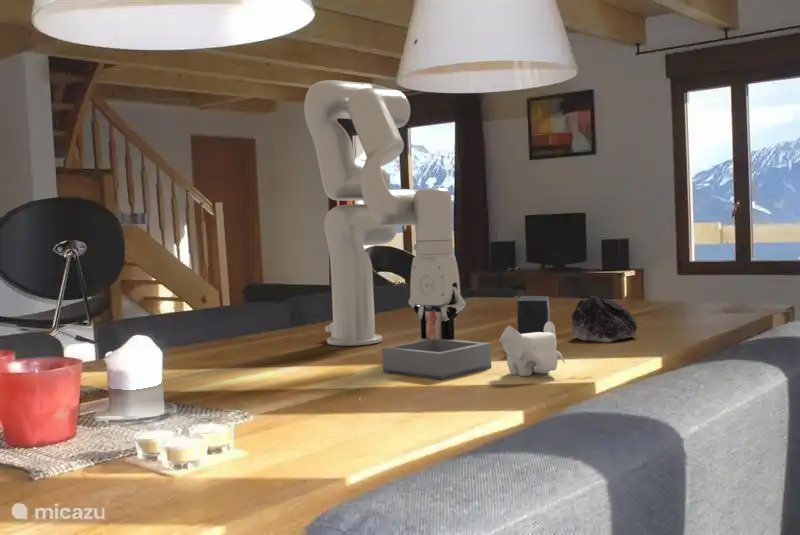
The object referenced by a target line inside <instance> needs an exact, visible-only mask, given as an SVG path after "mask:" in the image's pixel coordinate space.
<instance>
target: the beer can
mask: <svg viewBox="0 0 800 535" xmlns="http://www.w3.org/2000/svg"><path fill="white" fill-rule="evenodd" d="M447 310H448V308H447ZM448 311H449V310H448ZM425 321H426V339H425V340H427V339H432V338H435V339H442V335H441V321H444V319H443V316H442V311H441V307H439V306H425Z"/></svg>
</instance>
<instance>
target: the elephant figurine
mask: <svg viewBox="0 0 800 535" xmlns="http://www.w3.org/2000/svg"><path fill="white" fill-rule="evenodd" d="M499 342H500V344H501V345H502V349H503V350H504V352H505V353H506V363H507V368H508V370H509V373H510V374H511V375H515V376H516V375H519V376H520V377H528V376H529V377H530V376H531V375H532V373H537V374H540V375H542V374H543V375H544V374H549V373H550V372H551V371H552V372H553V371H556V370H557V367H558V360H559V359H558V357H559V358H560V359H561V360H562V362H563V363H564V364H566V363H565V359H564V357H563V354H562V353H561V351H558V350H557V346H558V344H557V342H558V341H557V337H556V326H555V324H554V323H553V322H552V321H551V320H550V321H548V322H547V323H546V324H545V326H544V332H534V333H525V334H520V333H519V332H518V329H515V328H514V327H512V326H511V325H507V326H506V328H504V330H503V332H502V334H501V336H500V338H499Z"/></svg>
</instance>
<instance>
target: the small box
mask: <svg viewBox="0 0 800 535" xmlns="http://www.w3.org/2000/svg"><path fill="white" fill-rule="evenodd" d="M549 298H550V297H549V296H548V295H547V296H545V295H543V296H542V295H538V296H537V295H520V297H519V298H518V299H517V300H516V319H517V320H516V322H517V331H518V332H519V333H520V334H525V333H534V332H544V326H545V324H546V323H547V322H548V321H550V322H551V320H550V300H549Z"/></svg>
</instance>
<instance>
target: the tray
mask: <svg viewBox="0 0 800 535" xmlns="http://www.w3.org/2000/svg"><path fill="white" fill-rule="evenodd" d="M458 340H459V339H453V340H446V339H435V338H432V339H427V340H426V339H421V340H417V341H412V342H408V343H401V344H396V345H390V346H386V347H381V350H382V370H383V373H385V374H394V375H402V376H408V377H417V378H423V379H424V378H425V379H430V380H431V379H432V380H439V381H442V380H446V379H451V378H454V377H455V378H456V377H458V376H464V375H467V373H468V374H471V373H475V372H480V371H483V370H487V369H491V368H492V353H491V352H492V351H491V350H492V349H491V342H481V341H480V342H479V341H473V342H469V341H470V340H464V341H458ZM479 370H480V371H479Z"/></svg>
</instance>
